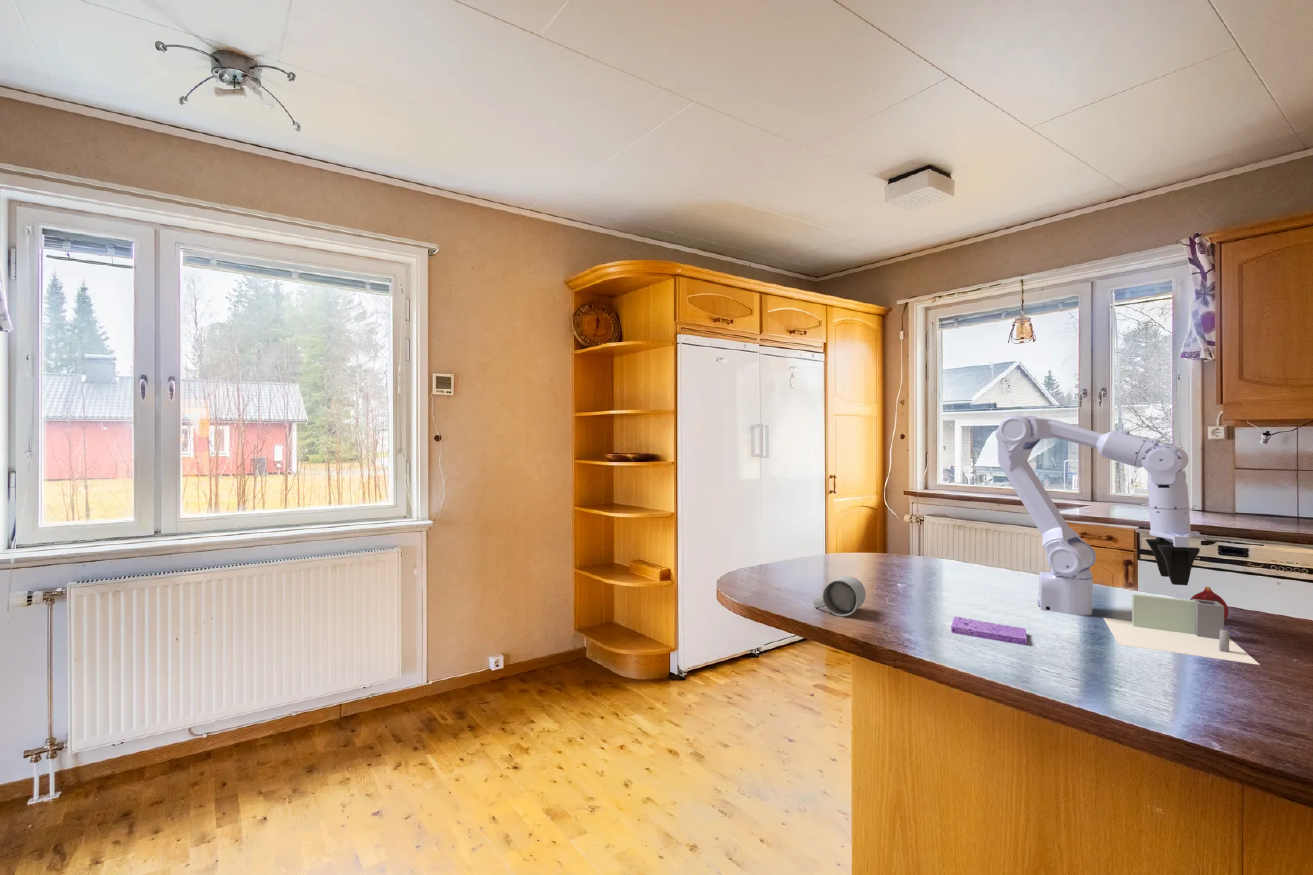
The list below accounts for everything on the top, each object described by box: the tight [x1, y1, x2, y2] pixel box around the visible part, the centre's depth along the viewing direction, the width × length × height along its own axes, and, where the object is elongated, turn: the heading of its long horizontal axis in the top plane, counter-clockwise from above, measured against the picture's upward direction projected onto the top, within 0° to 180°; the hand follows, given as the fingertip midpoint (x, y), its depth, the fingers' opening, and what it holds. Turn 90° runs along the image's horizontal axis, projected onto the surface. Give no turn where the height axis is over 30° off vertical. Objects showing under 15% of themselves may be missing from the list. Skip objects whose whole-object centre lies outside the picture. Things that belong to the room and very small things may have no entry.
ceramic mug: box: [812, 575, 867, 618], centre depth 127 cm, size 11×8×8 cm
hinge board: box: [1102, 617, 1261, 666], centre depth 106 cm, size 18×17×5 cm
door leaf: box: [1131, 593, 1225, 639], centre depth 110 cm, size 13×4×6 cm, turn 60°
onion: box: [1189, 586, 1229, 621], centre depth 117 cm, size 6×6×8 cm
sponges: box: [950, 615, 1028, 646], centre depth 113 cm, size 7×13×2 cm, turn 57°
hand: (1173, 580), depth 110 cm, fingers open, 7 cm apart
